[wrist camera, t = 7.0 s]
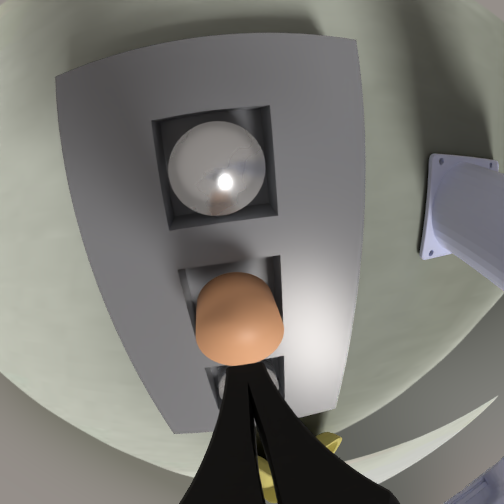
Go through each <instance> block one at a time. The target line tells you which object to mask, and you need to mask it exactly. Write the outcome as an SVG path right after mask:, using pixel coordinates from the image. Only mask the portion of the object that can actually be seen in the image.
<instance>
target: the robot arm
mask: <svg viewBox="0 0 504 504" xmlns="http://www.w3.org/2000/svg"><path fill="white" fill-rule="evenodd" d="M439 160H440V163H439ZM498 168H499V164H498V162H497V161H496V160H491V159H484V158H476V157H468V156H459V155H448V154H436V153H433V154H431V155H430V157H429V173H428V189H427V201H426V210H425V219H424V227H423V234H422V241H421V247H420V254H419V255H420V257H421V258H422V259H423V260H426V259H431V258H435V257H439V256H444V255H448V254H452V253H453V254H454V255H456V256H457V257H458V258H460V259H461V260H463V261H464V262H466V263H467V264H468V265H470V266H471V267H473V268H474V269H475V270H477V271H478V272H479V273H481V274H482V275H483V276H485V277H486V278H487V279H489V280H490V281H491V282H493V283H494V284H495V285H496V286H498V287H499V288H500V289H501V290H503V291H504V174H503V173H500V172H498ZM429 252H430V253H429ZM254 419H255V421H254ZM255 422H256V426H257V429H258V432H259V436H260V439H261V442H262V445H263V448H264V452H265V455H266V458H267V461H268V464H269V468H270V471H271V476H272V480H273V485H274V489H275V494H276V498H277V503H278V504H400V503H399V501H398V500H397V498H396V497H395V496H394V495H393V494H392V493H391V492H390V491H389V490H388V489H386V488H384V487H382V486H380V485H378V484H377V483H375V482H373V481H372V480H370V479H368V478H367V477H365V476H363V475H362V474H360V473H359V472H357V471H356V470H354V469H353V468H352V467H350V466H349V465H348V464H346V463H345V462H344V461H343V460H341V459H340V458H338V457H337V456H336V455H335V454H334V453H332V452H331V451H330V450H329V449H328V448H327V447H326V446H325V445H324V444H322V443H321V442H320V441H319V440H318V439H317V438H316V437H315V436H314V435H313V434H312V433H311V432H310V431H309V429H308V428H307V427H306V426H305V425H304V424H303V423H302V421H301V420H300V419H299V418H298V417H297V416H296V414H295V413H294V412H293V410H292V409H291V408H290V406H289V405H288V404H287V402H286V401H285V400H284V398H283V397H282V395H281V394H280V392H279V391H278V389H277V387H276V386H275V384H274V382H273V381H272V379H271V377H270V375H269V373H268V371H267V369H266V366H265V364H264V363H263V362H256V363H250V364H244V365H237V366H230V367H228V368H226V377H225V386H224V392H223V398H222V402H221V407H220V411H219V415H218V419H217V422H216V425H215V428H214V432H213V435H212V438H211V441H210V443H209V446H208V449H207V451H206V454H205V456H204V458H203V461H202V463H201V465H200V467H199V469H198V471H197V473H196V475H195V477H194V479H193V481H192V483H191V485H190V487H189V488H188V490H187V492H186V493H185V495H184V497H183V498H182V500H181V501H180V503H179V504H266V503H265V498H264V493H263V488H262V484H261V479H260V473H259V466H258V455H257V444H256V433H255ZM442 504H504V457H503V458H501V460H499V461H498V462H497V463H496V464H495V465H493V466H492V467H491V468H489V469H488V470H486V471H485V472H484V473H482V474H481V475H480V476H479V477H477V478H476V479H475V480H473V481H472V482H471V483H469V484H468V485H467V486H466V488H464V489H463V490H462V491H460V492H459V493H457V494H456V495H455V496H453V497H452V498H450V499H449V500H447V501H446V502H444V503H442Z"/></svg>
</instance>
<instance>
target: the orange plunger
mask: <svg viewBox="0 0 504 504" xmlns="http://www.w3.org/2000/svg"><path fill="white" fill-rule="evenodd" d="M283 335H284V325H283V321H282V319H281V316H280V313H279V310H278V308H277V305H276V302H275V300H274V297H273V294H272V292H271V290H270V288H269V287H268V285H267V284H266V283H265V282H264V281H263V280H262V279H260V278H258V277H257V276H254V275H252V274H249V273H243V272H231V273H226V274H222V275H219V276H217V277H215V278H214V279H212V280H210V281H209V282H208V283H207V284H206V285H205V286H204V287H203V288H202V290H201V291H200V293H199V295H198V298H197V307H196V342H197V345H198V347H199V349H200V350H201V351H202V353H203V354H204V355H205V356H206V357H208V358H209V359H211V360H213V361H215V362H217V363H220V364H223V365H229V366H237V365H244V364H250V363H256V362H259V361H261V360H263V359H265V358H266V357H268V356H269V355H271V354H272V353H273V352H274V351H275V350H276V349H277V348H278V346H279V345H280V343H281V341H282V339H283Z"/></svg>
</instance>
